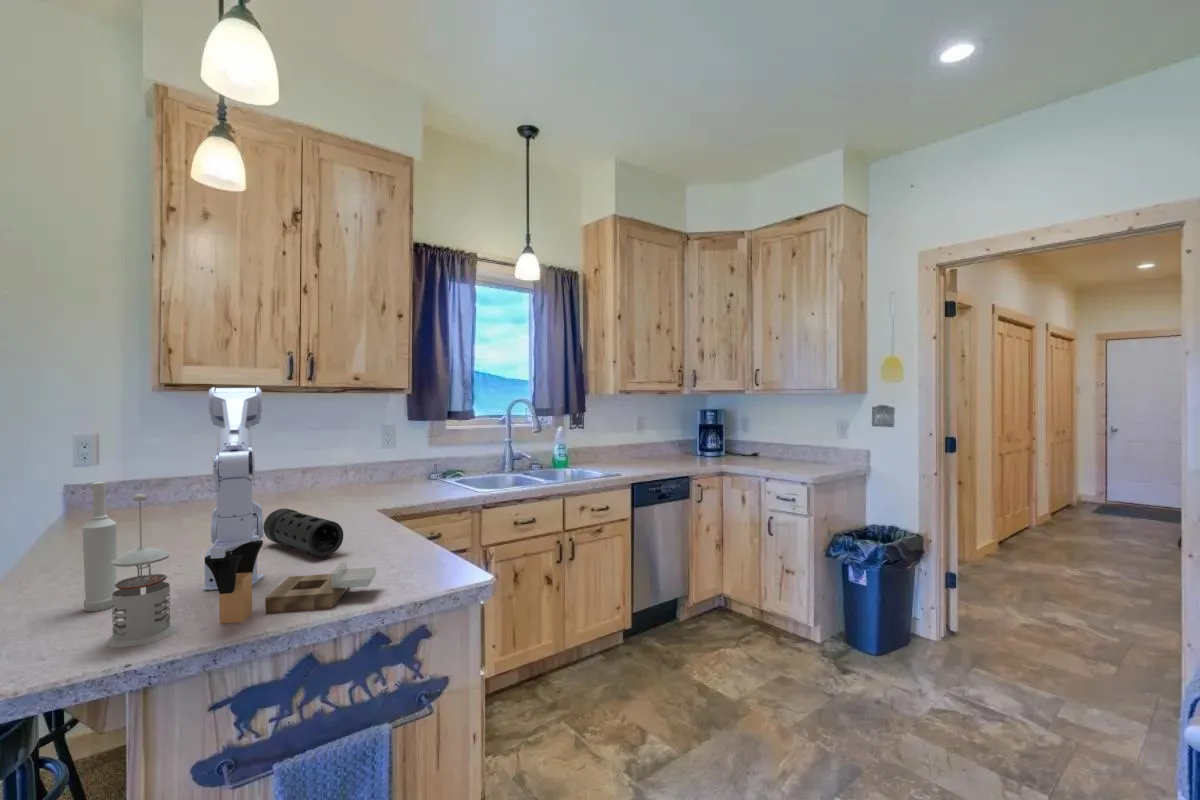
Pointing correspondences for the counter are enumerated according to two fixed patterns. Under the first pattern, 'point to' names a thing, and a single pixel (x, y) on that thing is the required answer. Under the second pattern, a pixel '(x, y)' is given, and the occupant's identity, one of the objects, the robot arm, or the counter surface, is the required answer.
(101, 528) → the bottle
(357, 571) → the grey stepped block
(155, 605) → the french press
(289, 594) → the socket plate
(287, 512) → the muzzle brake
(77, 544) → the counter surface
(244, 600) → the tan cardboard box
